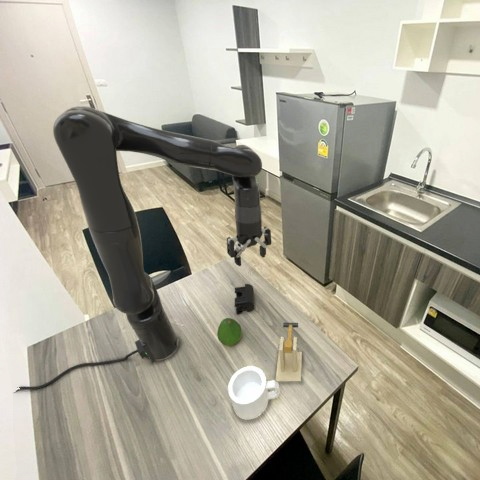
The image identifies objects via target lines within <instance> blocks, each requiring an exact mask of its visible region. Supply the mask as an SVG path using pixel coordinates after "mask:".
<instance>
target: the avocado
mask: <svg viewBox="0 0 480 480" xmlns="http://www.w3.org/2000/svg"><path fill="white" fill-rule="evenodd" d="M216 335H217V339H218V342H220V343H221V344H222V345H223V346H225V347H233V346H234V345H236V344H237V343H238V342H240V340H241V338H242V335H243V330H242V326H241V324H240V323H239V322H238V321H236V320H235V319H233V318H231V317H225V318H223V319H222V320H221V321H220V323H219V325H218V328H217V334H216Z"/></svg>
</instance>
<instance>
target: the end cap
mask: <svg viewBox="0 0 480 480" xmlns="http://www.w3.org/2000/svg"><path fill="white" fill-rule="evenodd" d="M254 291H255V290H254V287H253V285H252V284H250V283H244V286H238V287H234V294H235V297H234V307H235V312H236V314H237V315H241V314H243V311H246V312H247V313H249V312H252V311H254V309H255V292H254Z"/></svg>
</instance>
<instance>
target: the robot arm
mask: <svg viewBox="0 0 480 480" xmlns="http://www.w3.org/2000/svg"><path fill="white" fill-rule="evenodd" d="M52 135H53V138H54V141H55V143H56V145H57V147H58V149H59V152H60V154H61V156H62V158H63V159H64V162H65V163H66V165H67V168H68V170H69V172H70V174H71V176H72V178H73V180H74V182H75V185H76V188H77V190H78V194H79V199H80V204H81V207H82V210H83V214H84V217H85V221H86V224H87V227H88V230H89V233H90V236H91V239H92V241H93V244H94V245H95V248H96V251H97V253H98V256H99V258H100V260H101V263H102V264H103V267H104V269H105V271H106V273H107V275H108V279H109V283H110V287H111V291H112V292H111V293H112V301H113V305H114V307H115V308H116V309H117V310H118V311H119V312H121V313H123V314H124V315H125V316H126V320H127V322H128V323H129V325H130V326H131V328H132V330H133V331H134V334H135V335H136V336H137V338H138V340H136V341H134V345H135V346H136V350H134V351H132V352H130V353H128V354H127V355H126V356H124V357H122V358H117V359H112V360H104V361H97V362H83V363H78V364H76V365H73V366H71V367H69V368H67V369H65V370H64V371H62V372H61V373H60V374H58V375H57V376H55V377H54V378H53V379H51V380H49V381H48V382H45V383H43V384H40V385H35V386H27V385H26V386H18V387H19V388H20V390H22V391H23V390H27V391H31V390H38V389H42V388H45V387H47V386H49V385H51V384H53V383H55V382H56V381H57V380H59V379H60V378H61V377H63V376H64V375H65V374H67V373H69V372H70V371H72V370H75V369H77V368H80V367H86V366H87V367H88V366H100V365H105V364H106V365H107V364H114V363H119V362H123V361H127V360H128V359H129V358H130V357H131V356H133V355H135V354H137V353H138V355H139V356H140V358H141V359H144V358H146V357H148V359H149V361H150V362H151V363H156V362H162V361H166V360H168V359H170V358H171V357H173V356H174V355H175V354H176V352H177V351H178V349H179V347H180V340H179V337H178V336H177V334H176V332H175V330H174V328H173V326H172V324H171V321H170V319H169V318H168V315H167V313H166V311H165V309H164V306H163V303H162V300H161V297H160V295H159V292H158V290H157V287H156V285H155V283H154V281H153V278H152V277H151V275H149V274H148V273H147V272H145V269H144V256H143V255H144V254H143V244H142V236H141V230H140V226H139V221H138V218H137V215H136V212H135V209H134V207H133V204H132V203H131V201H130V199H129V197H128V195H127V193H126V192H125V190H124V187H123V185H122V181H121V177H120V170H119V165H118V164H119V163H118V155H117V154H118V153H117V152H129V153H130V152H131V153H138V154H144V155H147V156H152V157H155V158H160V159H162V160H165V161H167V162H171V163H174V164H178V165H181V166H186V167H191V168H198V169H204V170H211V171H217V172H221V173H224V174H227V175H231V179H232V183H233V195H234V218H235V229H236V236H234V237H232V238H231V236H228V237H226V253H227V255H228V256H229V257H230V258H233V259H234V263H235V265H236V266H238V267H241V266H242V257H241V256H242V254H243V252H245V251H246V249H247V248H250V247H253V246H256V245H257V244H259V256H260V257H261V258H262V259H263V258H265V257H266V255H267V247H268V246H270V245H272V230H271V229H270V228H269V227H267V226H264V227H263V226H262V225H263V222H262V206H261V190H260V186H259V184H258V181H257V176H258V175H259V174H260V173H261V171H262V169H263V161H262V159H261V157H260V155H259V154H258V153H257V152H256V151H255V150H253V149H252V148H251V147H250V146H248V145H246V144H237V145H235V146H234V147H231V146H227V145H224V144H222V143H220V142H218V141H216V140H212V139H207V138H203V137H198V136H193V135H188V134H183V133H178V132H173V131H169V130H165V129H164V130H163V129H159V128H155V127H151V126H148V125H144V124H140V123H137V122H133V121H131V120H128V119H125V118H121V117H119V116H115V115H113V114H110V113H108V112H105V111H102V110H99V109H96V108H93V107H90V106H84V105H83V106H82V105H78V106H73V107H70V108H67V109H66V110H65V111H64V112H62V113H61V114H59V115H58V116H57V118H56V119H55V120H54V121H53V126H52ZM262 236H263V237H264V238H263V239H264V241H262V240H261V238H262ZM20 390H19V391H20Z"/></svg>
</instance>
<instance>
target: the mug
mask: <svg viewBox="0 0 480 480" xmlns="http://www.w3.org/2000/svg"><path fill="white" fill-rule="evenodd" d="M275 380H276V379H273V380H268V381H267V377H266V374H265V372H264V371H263V370H262V368H260V367H258V366H255V365H247V366H244V367H241V368H239V369H237V370H236V371H235V372H234V373H233V374H232V376H231V377H230V380H229V381H228V386H227V392H228V396H229V399H230V402H231V405H232V408H233V411H234V413H235V414H236V416H237V417H239V418H240V419H243V420H246V421H247V420H254V419H256V418H258V417H259V416H261V415H262V414H263V413H264V412H265V410H266V409H267V407H268V404H269V401H270V400H274V399H278V398H279V396H280V395H281V391H280V390H281V389H280V382H279V381H275ZM273 389H274V390H273ZM269 390H271V391H269Z"/></svg>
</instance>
